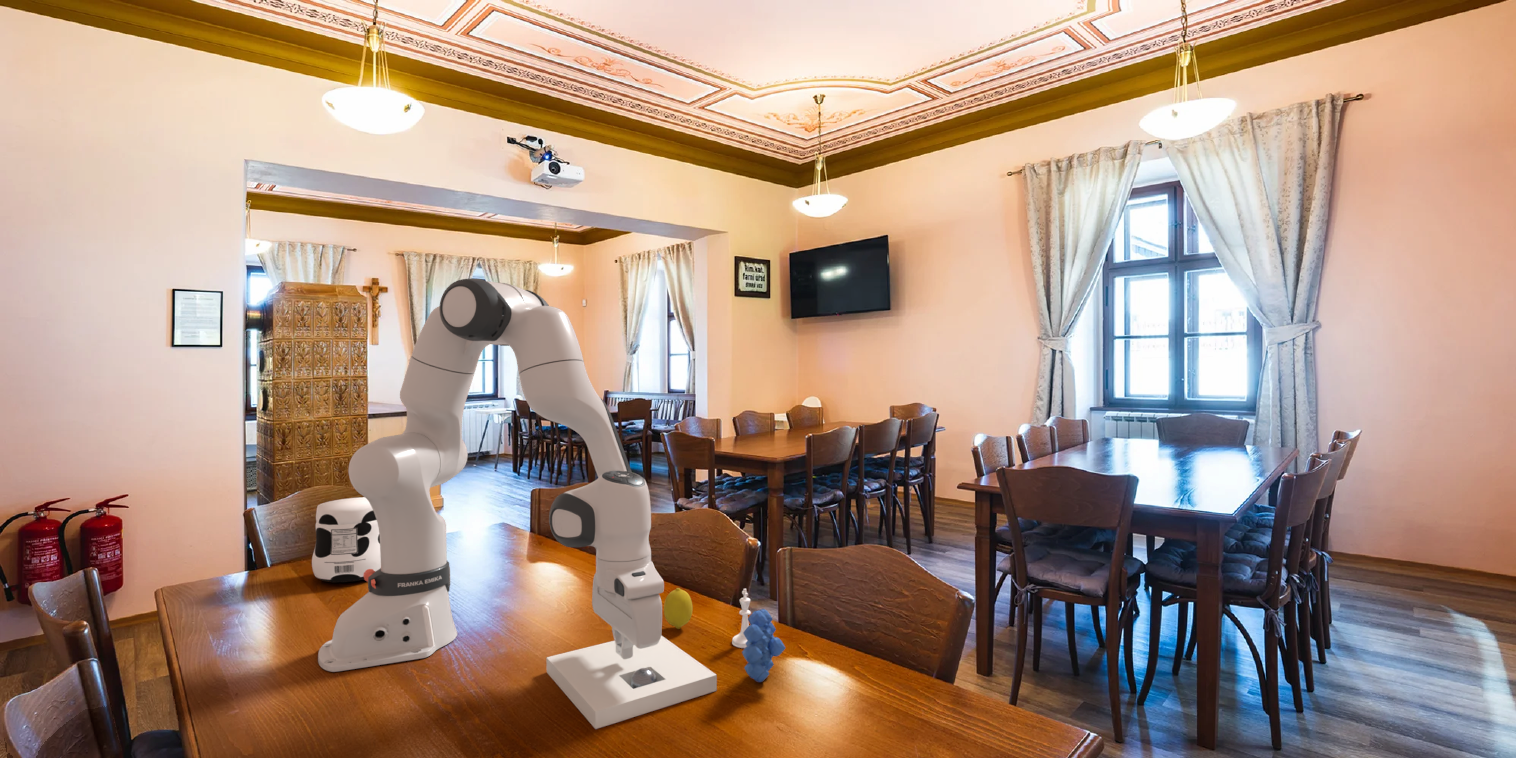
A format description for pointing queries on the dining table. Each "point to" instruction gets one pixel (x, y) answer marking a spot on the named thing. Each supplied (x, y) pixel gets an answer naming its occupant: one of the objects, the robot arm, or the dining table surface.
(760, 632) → the grapes
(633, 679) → the steel ball
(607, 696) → the hole board
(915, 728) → the dining table surface
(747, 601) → the chess piece
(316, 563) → the milk container
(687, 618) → the lemon
